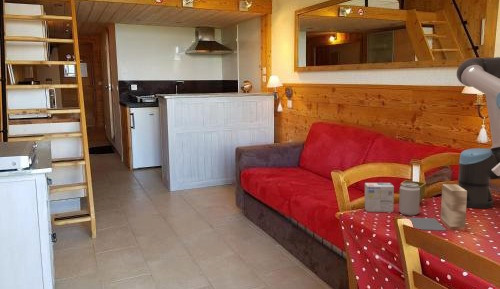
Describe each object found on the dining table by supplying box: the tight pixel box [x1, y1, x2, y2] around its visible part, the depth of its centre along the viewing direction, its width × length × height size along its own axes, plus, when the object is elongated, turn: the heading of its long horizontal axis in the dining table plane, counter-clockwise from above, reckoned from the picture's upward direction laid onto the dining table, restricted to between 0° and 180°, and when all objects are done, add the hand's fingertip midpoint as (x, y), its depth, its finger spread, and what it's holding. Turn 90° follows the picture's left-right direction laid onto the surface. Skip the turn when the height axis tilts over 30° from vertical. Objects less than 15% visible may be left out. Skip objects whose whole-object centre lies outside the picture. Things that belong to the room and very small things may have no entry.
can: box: [398, 182, 420, 217], centre depth 160 cm, size 8×8×12 cm
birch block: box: [440, 183, 467, 231], centre depth 145 cm, size 5×10×14 cm, turn 172°
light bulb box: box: [364, 182, 395, 213], centre depth 165 cm, size 11×7×11 cm, turn 84°
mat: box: [407, 217, 447, 232], centre depth 148 cm, size 13×13×1 cm
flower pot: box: [399, 180, 427, 204], centre depth 174 cm, size 9×9×9 cm
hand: (495, 173), depth 141 cm, fingers closed
